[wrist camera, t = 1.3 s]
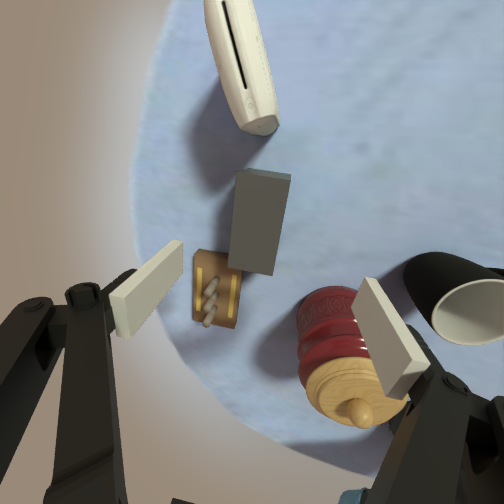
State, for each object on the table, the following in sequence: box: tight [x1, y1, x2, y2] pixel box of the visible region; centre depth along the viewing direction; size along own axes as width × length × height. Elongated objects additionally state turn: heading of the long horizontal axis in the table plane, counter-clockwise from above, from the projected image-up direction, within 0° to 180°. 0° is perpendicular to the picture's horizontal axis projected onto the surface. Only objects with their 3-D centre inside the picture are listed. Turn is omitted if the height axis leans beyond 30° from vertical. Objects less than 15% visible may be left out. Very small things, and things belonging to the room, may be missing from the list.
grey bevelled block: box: [228, 168, 291, 276], centre depth 30 cm, size 12×6×8 cm, turn 173°
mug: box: [404, 252, 504, 346], centre depth 28 cm, size 12×9×10 cm
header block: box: [193, 249, 243, 329], centre depth 38 cm, size 14×8×6 cm, turn 173°
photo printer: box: [204, 0, 280, 136], centre depth 22 cm, size 10×4×12 cm, turn 17°
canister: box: [297, 286, 409, 429], centre depth 31 cm, size 13×13×18 cm
